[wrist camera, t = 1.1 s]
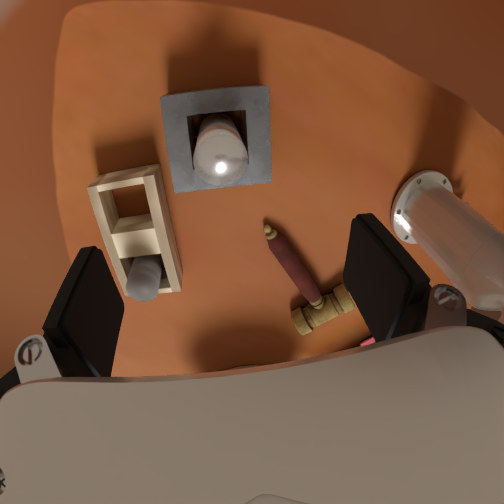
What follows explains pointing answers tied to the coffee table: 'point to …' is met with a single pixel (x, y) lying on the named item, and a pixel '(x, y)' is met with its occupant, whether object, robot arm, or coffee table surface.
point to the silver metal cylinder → (219, 151)
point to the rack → (138, 234)
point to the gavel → (307, 287)
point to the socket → (209, 101)
